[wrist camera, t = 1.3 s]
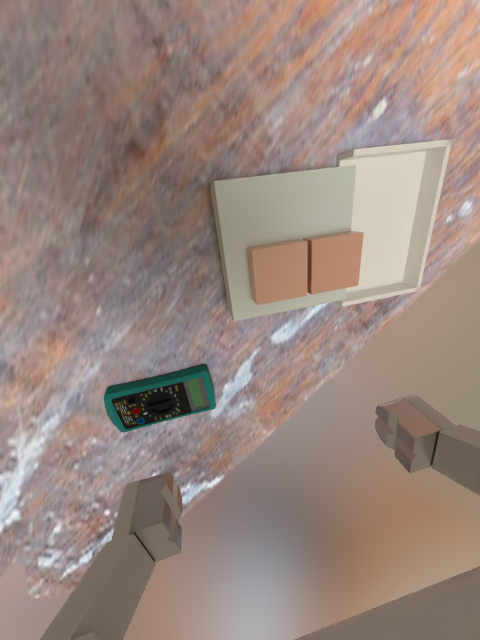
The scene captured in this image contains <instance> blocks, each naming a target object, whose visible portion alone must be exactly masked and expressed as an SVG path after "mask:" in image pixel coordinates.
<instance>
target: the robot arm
mask: <svg viewBox="0 0 480 640" xmlns="http://www.w3.org/2000/svg"><path fill="white" fill-rule="evenodd" d="M376 414H377V415H378V416H379V417H378V418H377V419H376V421H375V428H376V431H377V434H378V436H379V437H380V439H381V440H382V442H383V443H384V444H385V445H386V446H387V447H390V448H391V449H394V450H395V457H396V458H397V459H398V460H399V461H400V463H401V464H402V465H403V466H404V467H405V468H406V470H407V471H408V472H409V473H412V472H415V471H419V470H422V469H425V468H429V467H432V468H433V469H435V470H436V471H438V472H440V473H441V474H443V475H445V476H447V477H449V478H450V479H452V480H454V481H455V482H457V483H459V484H461V485H462V486H464V487H466V488H468V489H470V490H471V491H473V492H475V493H476V494H478V495H480V431H477V430H474V429H471V428H468V427H466V426H463V425H457V426H456V425H455V424H453V423H452V422H451V421H450V420H448V419H447V418H446V417H444V416H443V415H442V414H440V413H439V412H438V411H437V410H435V409H434V408H433V407H431V406H430V405H429V404H428V403H426V402H425V401H424V400H422V399H421V398H420V397H419V396H417V395H410V396H406V397H403V398H401V399H400V398H399V399H396V400H393V401H390V402H387V403H384V404H381V405H378V406H377V407H376ZM173 482H174V476H173V475H172V473H171V472H167V473H164V474H160V475H157V476H153V477H150V478H146V479H143V480H139V481H136V482H133V483H130V484H127V486H126V487H125V489H124V492H123V496H122V500H121V504H120V508H119V512H118V516H117V520H116V524H115V528H114V532H113V536H112V540H111V541H109V542H107V543H106V544H105V546H104V547H103V548H102V550H101V551H100V553H99V554H98V556H97V557H96V559H95V560H94V562H93V563H92V564H91V566H90V567H89V569H88V570H87V572H86V573H85V575H84V576H83V578H82V579H81V580H80V582H79V583H78V585H77V586H76V588H75V589H74V591H73V592H72V594H71V595H70V596H69V598H68V599H67V601H66V602H65V604H64V605H63V607H62V608H61V610H60V611H59V613H58V614H57V615H56V617H55V619H54V620H53V621H52V623H51V624H50V626H49V627H48V629H47V630H46V632H45V633H44V634H43V636H42V637H41V639H40V640H123V637H124V635H125V633H126V630H127V628H128V626H129V624H130V622H131V619H132V617H133V615H134V612H135V610H136V608H137V606H138V603H139V601H140V599H141V597H142V594H143V592H144V590H145V587H146V585H147V583H148V581H149V579H150V576H151V574H152V572H153V569H154V567H155V565H156V564H155V562H158V561H160V560H163V559H165V558H168V557H170V556H173V555H176V554H179V553H181V537H182V536H181V535H182V528H181V526H180V524H179V522H178V521H179V519H180V517H181V515H182V496H181V492H180V488H179V486H178V485H177V484H175V483H173ZM295 640H480V566H479V567H477V568H475V569H472V570H469V571H467V572H464V573H462V574H459V575H457V576H454V577H451V578H449V579H446V580H444V581H441V582H439V583H436V584H434V585H431V586H429V587H426V588H424V589H421V590H419V591H416V592H414V593H411V594H409V595H406V596H403V597H401V598H399V599H396V600H393V601H391V602H388V603H386V604H383V605H381V606H378V607H376V608H373V609H371V610H368V611H365V612H363V613H361V614H358V615H355V616H353V617H350V618H348V619H345V620H343V621H340V622H338V623H335V624H333V625H330V626H328V627H325V628H322V629H320V630H317V631H315V632H312V633H310V634H307V635H305V636H302V637H300V638H297V639H295Z"/></svg>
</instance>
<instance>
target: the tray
mask: <svg viewBox="0 0 480 640" xmlns="http://www.w3.org/2000/svg"><path fill="white" fill-rule="evenodd" d="M451 143H452V139H450V140H440V141H431V142H421V143H411V144H402V145H392V146H382V147H373V148H363V149H354V150H351V151H348V152H345V153H343V154H340V155H338V156H337V167H342V166H350V165H356V174H355V186H354V199H353V211H352V224H351V231H357V232H364V235H363V245H362V254H361V264H360V274H359V284H358V286H354V287H349V288H346V299H344V300H339V301H334V302H335V303H337V304H339V305H341V306H342V307H343V306H347V305H352V304H357V303H362V302H367V301H372V300H376V299H381V298H386V297H391V296H396V295H401V294H405V293H410V292H415V291H419V290H420V285H421V281H422V276H423V271H424V267H425V262H426V258H427V253H428V249H429V244H430V239H431V235H432V230H433V226H434V221H435V216H436V212H437V207H438V203H439V198H440V194H441V189H442V184H443V180H444V175H445V171H446V166H447V161H448V157H449V152H450V148H451Z"/></svg>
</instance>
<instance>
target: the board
mask: <svg viewBox="0 0 480 640" xmlns="http://www.w3.org/2000/svg"><path fill="white" fill-rule="evenodd" d="M355 174H356V165H350V166H342V167H333V168H324V169H315V170H306V171H298V172H289V173H280V174H271V175H263V176H254V177H245V178H236V179H227V180H219V181H214V182H212V183H211V184H210V190H211V197H212V204H213V211H214V217H215V224H216V231H217V237H218V244H219V251H220V257H221V264H222V271H223V277H224V284H225V291H226V297H227V304H228V310H229V312H230V314H231V316H232V319H233V321H234V322H236V321H240V320H245V319H250V318H255V317H260V316H265V315H270V314H275V313H280V312H285V311H290V310H295V309H300V308H305V307H309V306H314V305H319V304H324V303H329V302H334V301H339V300H344V299H346V288H343V289H338V290H333V291H328V292H323V293H318V294H313V295H311V294H309V293H308V292H307V296H302V297H297V298H292V299H287V300H282V301H277V302H272V303H267V304H261V305H256V304H255V302H254V301H253V300H252V296H251V286H250V276H249V266H248V256H247V247H251V246H257V245H264V244H270V243H276V242H283V241H289V240H295V239H300V240H303V238H308V237H314V236H321V235H327V234H334V233H340V232H346V231H351V224H352V211H353V199H354V186H355Z"/></svg>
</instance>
